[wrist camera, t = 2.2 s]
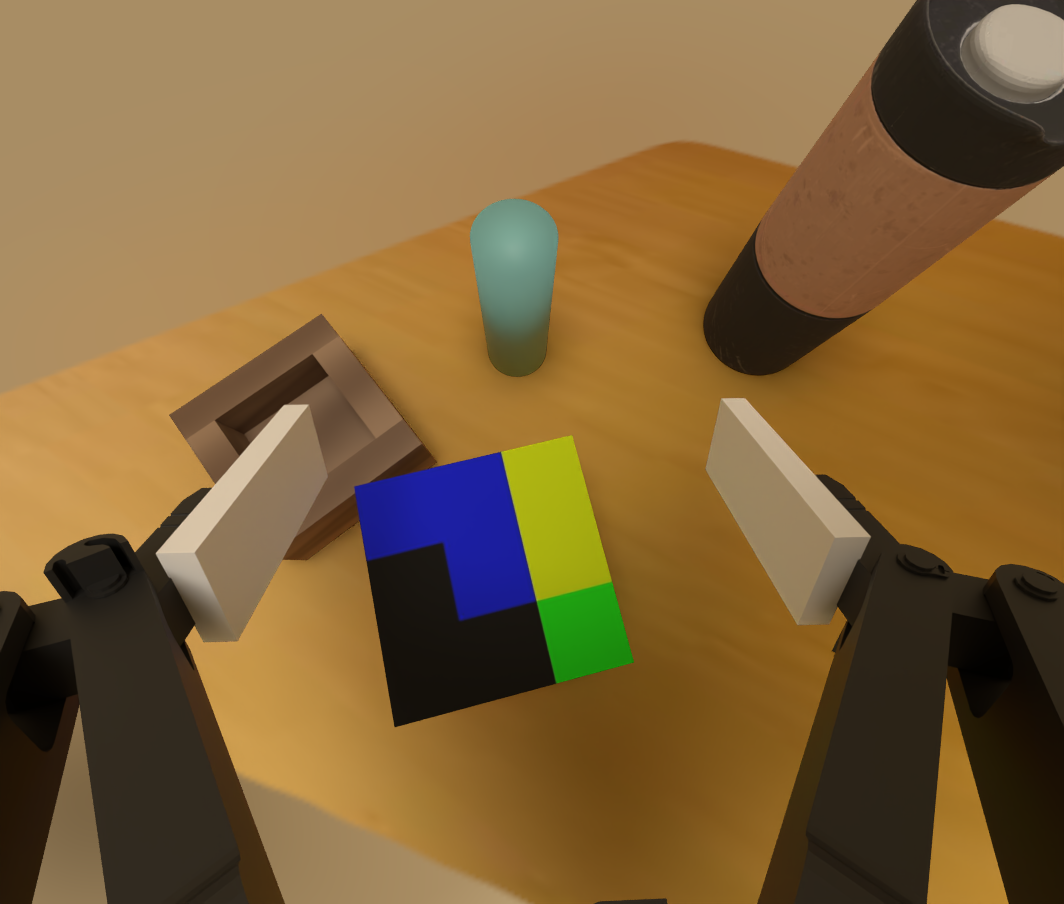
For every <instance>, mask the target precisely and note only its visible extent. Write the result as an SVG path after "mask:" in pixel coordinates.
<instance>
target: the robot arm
mask: <svg viewBox="0 0 1064 904" xmlns="http://www.w3.org/2000/svg"><path fill="white" fill-rule="evenodd" d="M705 470H706V471H707V473H708V475H709V476H710V478H711V480H712V481H713V483H714V485H715V486H716V488H717V490H718V492H719V493H720V495H721V497H722V498H723V500H724V502H725V503H726V505H727V507H728V508H729V510H730V512H731V513H732V515H733V517H734V519H735V520H736V522H737V524H738V525H739V527H740V529H741V530H742V532H743V534H744V535H745V537H746V539H747V541H748V542H749V544H750V546H751V547H752V549H753V551H754V552H755V554H756V556H757V557H758V559H759V561H760V562H761V564H762V566H763V568H764V569H765V571H766V573H767V574H768V576H769V578H770V579H771V581H772V583H773V584H774V586H775V588H776V590H777V591H778V593H779V595H780V596H781V598H782V600H783V601H784V603H785V605H786V606H787V608H788V610H789V612H790V613H791V615H792V617H793V618H794V620H795V622H796V623H797V625H820V624H829V623H830V621H831V619H832V617H833V615H834V613H835V611H836V609H837V607H839V609H840V610H841V612H842V613H843V614H844V616H845V617H846V619H847V622H846V624H845V626H844V628H843V630H842V632H841V634H840V636H839V638H838V640H837V642H836V644H835V646H834V648H833V650H832V651H833V652H835V655H834V659H833V662H832V665H831V668H830V671H829V675H828V678H827V681H826V684H825V688H824V691H823V694H822V697H821V700H820V704H819V707H818V710H817V713H816V717H815V720H814V723H813V726H812V729H811V733H810V736H809V739H808V742H807V746H806V749H805V752H804V755H803V758H802V762H801V765H800V768H799V771H798V775H797V778H796V781H795V784H794V787H793V791H792V794H791V797H790V800H789V804H788V807H787V810H786V813H785V816H784V820H783V823H782V826H781V829H780V833H779V836H778V839H777V842H776V845H775V849H774V852H773V855H772V858H771V862H770V865H769V868H768V871H767V874H766V878H765V881H764V884H763V887H762V891H761V894H760V897H759V900H758V903H757V904H927V893H928V882H929V870H930V859H931V848H932V836H933V825H934V814H935V802H936V791H937V780H938V768H939V757H940V746H941V734H942V723H943V712H944V700H945V689H946V678H947V681H948V685H949V688H950V692H951V696H952V699H953V703H954V706H955V710H956V714H957V717H958V721H959V725H960V728H961V732H962V735H963V739H964V743H965V746H966V750H967V754H968V757H969V761H970V765H971V768H972V772H973V775H974V779H975V783H976V786H977V790H978V794H979V797H980V801H981V804H982V808H983V812H984V815H985V819H986V823H987V826H988V830H989V833H990V837H991V841H992V844H993V848H994V852H995V855H996V859H997V862H998V866H999V870H1000V873H1001V877H1002V881H1003V884H1004V888H1005V892H1006V895H1007V899H1008V902H1009V904H1064V584H1063V583H1062V582H1060V581H1059V580H1057V579H1056V578H1054V577H1053V576H1051V575H1048V574H1047V573H1044V572H1042V571H1040V570H1036V569H1033V568H1029V567H1026V566H1021V565H1014V564H1008V565H1001V566H1000V567H998V568H997V569H996V570H995V572H994V573H993V575H992V576H991V577H990V579H989V580H988V579H983V578H978V577H973V576H967V575H962V574H957V573H953V571H952V570H951V568H950V567H949V566H948V565H947V564H946V563H945V562H944V561H943V560H941V559H940V558H938V557H937V556H935V555H934V554H932V553H930V552H927V551H925V550H923V549H921V548H918V547H914V546H910V545H904V544H900V543H899V542H898V541H897V540H896V539H895V538H894V537H893V536H892V535H891V534H890V533H889V532H888V531H887V530H886V529H885V528H884V527H883V526H882V525H881V524H880V523H879V522H878V521H877V520H876V519H875V518H874V517H873V516H872V514H871V513H870V512H869V511H866V510H865V507H864V506H863V505H862V504H861V503H860V502H859V501H856V498H855V497H854V496H853V495H852V494H851V493H850V492H849V491H848V490H847V489H846V488H845V487H844V485H842V484H840V483H839V482H837V481H835V480H834V479H832V478H830V477H829V476H827V475H814V474H813V473H812V471H811V470H810V469H809V468H808V467H807V466H806V465H805V464H804V463H803V462H802V460H801V459H800V458H799V457H798V456H797V455H796V454H795V453H794V452H793V451H792V449H791V448H790V447H789V446H788V445H787V444H786V443H785V442H784V441H783V440H782V438H781V437H780V436H779V435H778V434H777V433H776V432H775V431H774V430H773V429H772V427H771V426H770V425H769V424H768V423H767V422H766V421H765V420H764V419H763V418H762V416H761V415H760V414H759V413H758V412H757V411H756V410H755V409H754V408H753V407H752V406H751V404H750V403H749V402H748V401H747V400H746V399H745V398H721V402H720V407H719V411H718V416H717V420H716V424H715V429H714V433H713V438H712V442H711V447H710V451H709V456H708V460H707V465H706V469H705ZM327 477H328V475H327V471H326V467H325V464H324V460H323V456H322V452H321V449H320V445H319V441H318V437H317V433H316V430H315V426H314V422H313V418H312V414H311V411H310V407H309V405H284V406H283V407H282V408H281V409H280V410H279V411H278V413H277V414H276V415H275V416H274V417H273V418H272V420H271V421H270V422H269V423H268V424H267V425H266V427H265V428H264V429H263V430H262V431H261V432H260V433H259V435H258V436H257V437H256V438H255V439H254V440H253V442H252V443H251V444H250V445H249V446H248V447H247V448H246V450H245V451H244V452H243V453H242V454H241V455H240V457H239V458H238V459H237V460H236V461H235V462H234V463H233V465H232V466H231V467H230V468H229V469H228V470H227V472H226V473H225V474H224V475H223V476H222V477H221V478H220V480H219V481H218V482H217V483H216V484H215V485H214V487H213V488H201V489H200V490H198V491H197V492H195V493H194V494H192V495H190V496H189V497H187V498H186V499H184V500H183V501H182V502H181V503H180V504H179V505H178V506H177V507H176V509H175V510H174V511H173V512H172V513H171V516H168V517H167V518H166V519H165V520H164V522H163V523H162V524H161V527H160V528H157V529H156V530H155V531H154V532H153V534H152V535H151V536H150V537H149V538H148V539H147V540H146V541H145V542H144V543H143V544H142V546H141V547H140V548H139V549H138V550H137V551H136V552H134V551H133V549H132V547H131V545H130V544H129V542H128V540H127V539H126V538H125V537H124V536H122V535H117V534H103V535H97V536H93V537H90V538H86V539H83V540H81V541H79V542H76V543H74V544H72V545H70V546H68V547H66V548H65V549H63V550H62V551H60V552H59V553H57V554H56V555H54V556H53V558H52V559H51V560H50V561H49V562H48V563H47V564H46V566H45V569H44V574H45V576H46V577H47V578H48V580H49V581H50V582H51V584H52V585H53V587H54V588H55V589H56V591H57V592H58V594H59V595H60V596H61V599H57V600H53V601H48V602H44V603H40V604H36V605H32V606H28V605H27V604H26V603H25V602H24V600H23V599H22V598H21V596H19V595H18V594H17V593H15V592H8V591H1V592H0V904H32V900H33V896H34V892H35V888H36V883H37V880H38V875H39V871H40V867H41V863H42V859H43V855H44V850H45V846H46V842H47V838H48V834H49V829H50V825H51V821H52V817H53V813H54V809H55V804H56V800H57V796H58V792H59V788H60V784H61V779H62V775H63V771H64V767H65V762H66V758H67V754H68V750H69V745H70V742H71V738H72V733H73V729H74V725H75V720H76V717H77V713H78V708H79V704H80V711H81V718H82V725H83V732H84V740H85V746H86V753H87V760H88V768H89V775H90V782H91V789H92V796H93V803H94V811H95V817H96V824H97V832H98V838H99V845H100V852H101V860H102V867H103V875H104V882H105V889H106V896H107V903H108V904H285V903H284V900H283V897H282V895H281V892H280V889H279V887H278V884H277V881H276V879H275V876H274V873H273V870H272V868H271V865H270V863H269V860H268V857H267V855H266V852H265V849H264V846H263V844H262V841H261V838H260V836H259V833H258V830H257V828H256V825H255V823H254V820H253V817H252V814H251V812H250V809H249V807H248V804H247V801H246V798H245V796H244V793H243V790H242V787H241V785H240V782H239V779H238V777H237V774H236V771H235V769H234V766H233V763H232V761H231V758H230V755H229V753H228V750H227V747H226V745H225V742H224V739H223V737H222V734H221V731H220V729H219V726H218V723H217V721H216V718H215V715H214V713H213V710H212V707H211V704H210V702H209V699H208V696H207V694H206V691H205V688H204V686H203V683H202V680H201V678H200V675H199V672H198V670H197V667H196V664H195V662H194V659H193V656H192V654H191V651H190V649H189V647H188V645H187V643H186V642H185V639H186V637H187V636H188V634H189V633H190V631H191V630H192V628H193V627H194V625H195V627H196V629H197V631H198V633H199V634H200V636H201V638H202V640H203V642H227V641H238V639H239V638H240V636H241V634H242V632H243V630H244V629H245V627H246V625H247V623H248V621H249V619H250V618H251V616H252V614H253V612H254V610H255V608H256V607H257V605H258V603H259V601H260V599H261V598H262V596H263V594H264V592H265V590H266V588H267V587H268V585H269V583H270V581H271V579H272V578H273V576H274V574H275V572H276V570H277V568H278V567H279V565H280V563H281V561H282V559H283V558H284V556H285V554H286V552H287V550H288V548H289V547H290V545H291V543H292V541H293V539H294V537H295V536H296V534H297V532H298V530H299V528H300V527H301V525H302V523H303V521H304V519H305V517H306V516H307V514H308V512H309V510H310V508H311V507H312V505H313V503H314V501H315V499H316V497H317V496H318V494H319V492H320V490H321V488H322V487H323V485H324V483H325V481H326V479H327ZM595 904H667V899H645V900H622V901H600V902H597V903H595Z"/></svg>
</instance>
